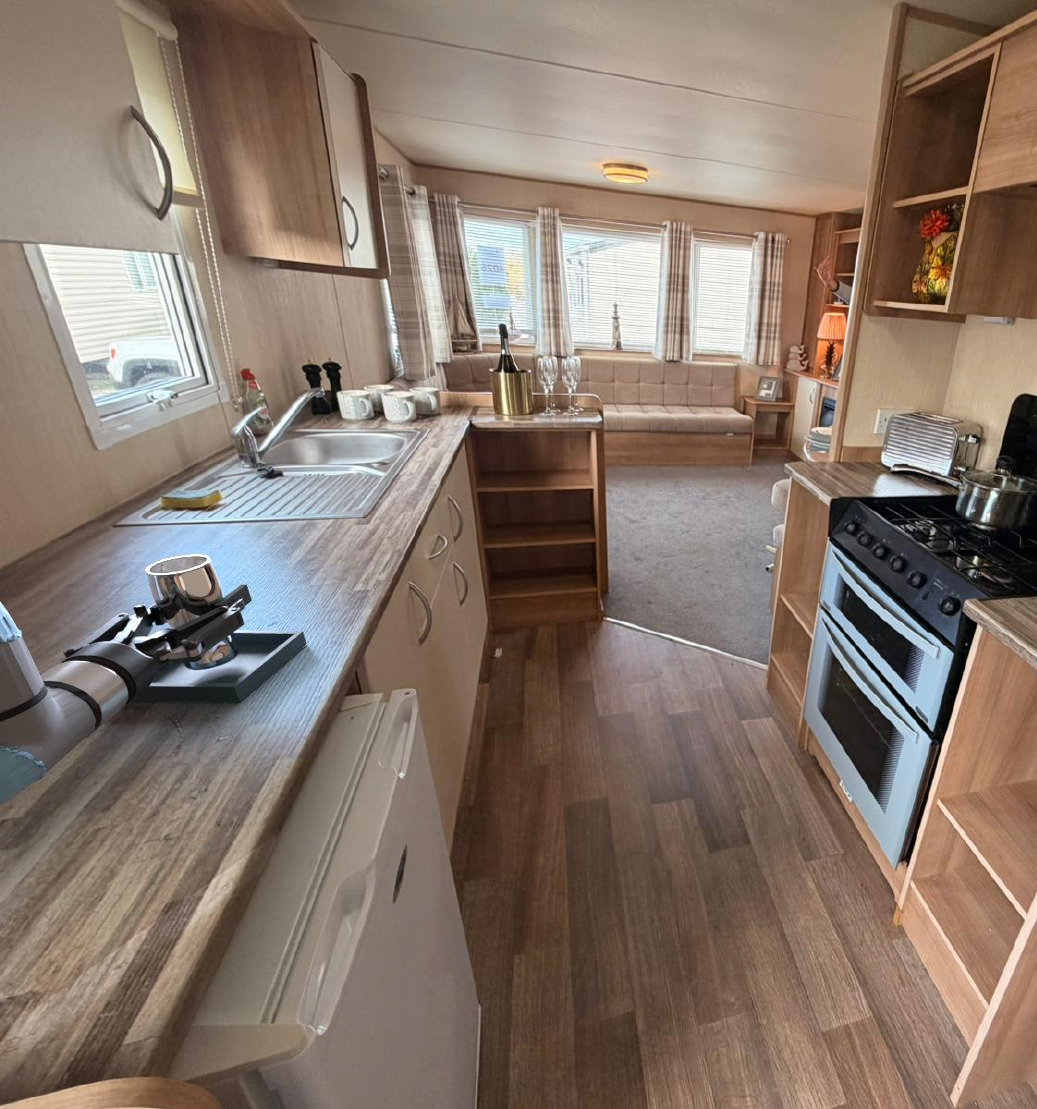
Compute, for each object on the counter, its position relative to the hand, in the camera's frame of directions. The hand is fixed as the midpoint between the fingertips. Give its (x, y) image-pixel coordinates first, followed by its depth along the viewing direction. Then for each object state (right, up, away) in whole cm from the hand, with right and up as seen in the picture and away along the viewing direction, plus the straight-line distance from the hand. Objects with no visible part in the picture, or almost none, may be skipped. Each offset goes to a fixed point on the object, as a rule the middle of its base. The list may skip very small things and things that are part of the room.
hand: (216, 593), depth 86 cm
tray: (0, -11, 0) cm, 11 cm away
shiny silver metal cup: (+1, -9, -1) cm, 10 cm away
